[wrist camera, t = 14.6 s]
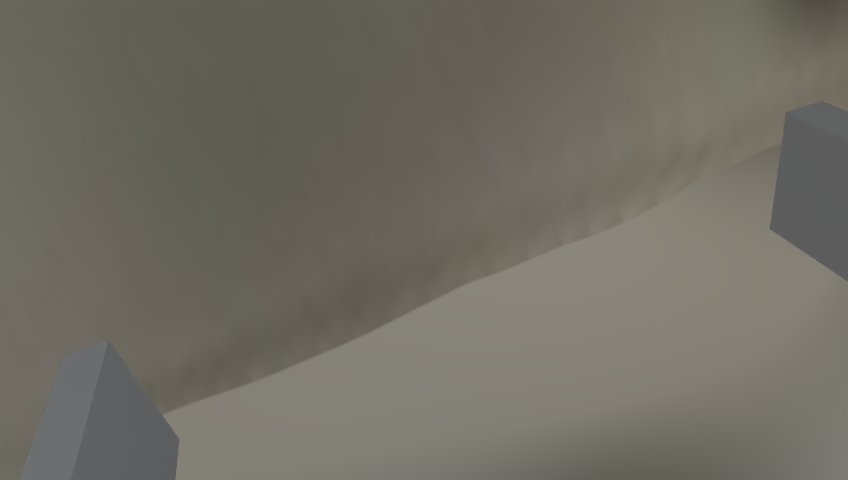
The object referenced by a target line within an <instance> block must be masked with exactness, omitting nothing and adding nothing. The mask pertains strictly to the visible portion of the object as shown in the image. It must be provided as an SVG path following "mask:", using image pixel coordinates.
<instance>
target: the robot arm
mask: <svg viewBox="0 0 848 480" xmlns="http://www.w3.org/2000/svg"><path fill="white" fill-rule="evenodd" d="M770 229H771V230H773V231H774V232H775V233H777V234H779V235H780V236H781V237H783V238H784V239H786V240H787V241H789V242H790V243H792V244H793V245H795V246H796V247H798V248H799V249H801V250H802V251H803V252H805V253H807V254H808V255H810V256H811V257H812V258H814V259H816V260H817V261H818V262H820V263H821V264H823V265H824V266H826V267H827V268H829V269H830V270H832V271H833V272H835V273H836V274H838V275H839V276H841V277H842V278H844V279H845V280H847V281H848V112H847V111H844V110H842V109H839V108H837V107H834V106H832V105H829V104H827V103H824V102H822V101H820V102H817V103H814V104H811V105H808V106H805V107H802V108H799V109H796V110H793V111H790V112H787V113H786V117H785V124H784V131H783V138H782V145H781V153H780V160H779V167H778V174H777V181H776V188H775V196H774V203H773V210H772V217H771V224H770ZM178 446H179V438H178V437H177V435H176V434H175V432H174V431H173V430H172V429H171V427H170V425H169V424H168V423H167V421H166V420H165V418H164V417H163V416H162V414H161V413H160V411H159V410H158V409H157V407H156V406H155V404H154V403H153V402H152V400H151V399H150V397H149V396H148V395H147V393H146V392H145V390H144V389H143V388H142V386H141V385H140V383H139V382H138V381H137V379H136V378H135V376H134V375H133V374H132V372H131V371H130V369H129V368H128V367H127V365H126V364H125V362H124V361H123V360H122V358H121V357H120V355H119V354H118V353H117V351H116V350H115V348H114V347H113V346H112V344H111V343H110V341H109V340H107V341H104V342H101V343H98V344H95V345H92V346H89V347H86V348H83V349H80V350H77V351H74V352H71V353H68V354H65V355H63V358H62V361H61V364H60V367H59V370H58V372H57V375H56V378H55V381H54V384H53V387H52V389H51V392H50V395H49V398H48V401H47V404H46V406H45V409H44V412H43V415H42V418H41V421H40V423H39V426H38V429H37V432H36V435H35V438H34V440H33V443H32V446H31V449H30V452H29V454H28V457H27V460H26V463H25V466H24V469H23V471H22V474H21V477H20V480H175V477H176V467H177V456H178Z"/></svg>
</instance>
